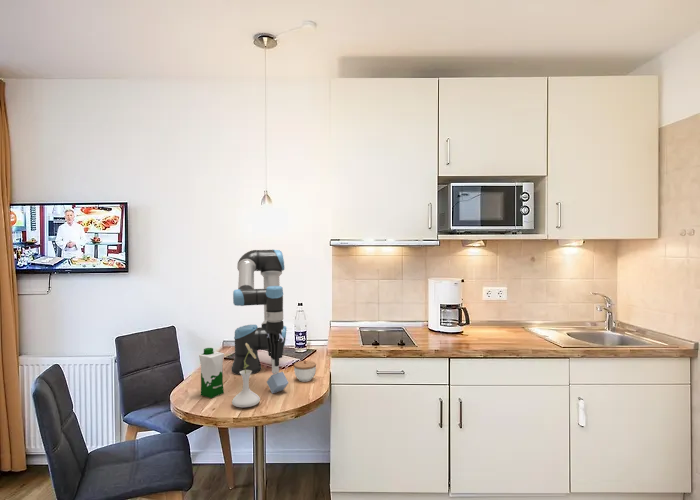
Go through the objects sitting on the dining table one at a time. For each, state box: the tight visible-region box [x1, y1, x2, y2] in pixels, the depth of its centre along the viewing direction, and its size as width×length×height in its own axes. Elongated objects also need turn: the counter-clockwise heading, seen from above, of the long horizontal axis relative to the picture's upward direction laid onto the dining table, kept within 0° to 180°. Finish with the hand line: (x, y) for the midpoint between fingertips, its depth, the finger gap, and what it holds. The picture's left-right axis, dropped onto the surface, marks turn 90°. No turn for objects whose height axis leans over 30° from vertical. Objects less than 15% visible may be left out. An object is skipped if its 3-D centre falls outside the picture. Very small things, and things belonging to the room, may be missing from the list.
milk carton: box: [198, 347, 225, 399], centre depth 182 cm, size 9×9×20 cm
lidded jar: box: [293, 360, 317, 383], centre depth 201 cm, size 11×11×9 cm
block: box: [266, 371, 289, 394], centre depth 185 cm, size 6×6×6 cm
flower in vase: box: [231, 343, 261, 408], centre depth 171 cm, size 13×11×25 cm
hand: (275, 372), depth 186 cm, fingers closed
